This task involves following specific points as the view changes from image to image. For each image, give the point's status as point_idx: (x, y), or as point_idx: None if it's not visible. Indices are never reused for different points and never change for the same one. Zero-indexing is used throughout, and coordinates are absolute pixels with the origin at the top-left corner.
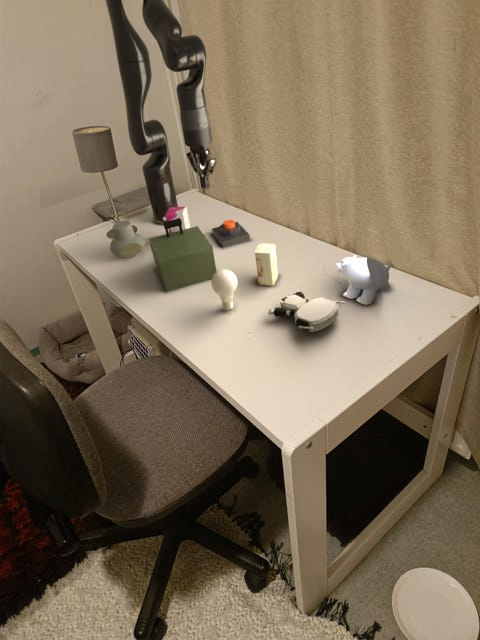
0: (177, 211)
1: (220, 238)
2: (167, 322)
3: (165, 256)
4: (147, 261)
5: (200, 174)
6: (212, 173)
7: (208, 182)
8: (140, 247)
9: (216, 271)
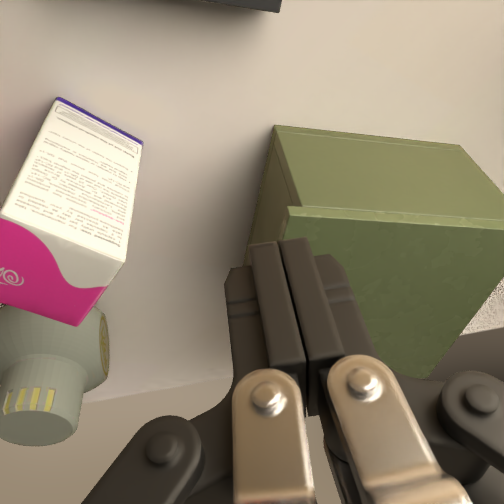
0: (75, 277)
1: (231, 1)
2: (497, 311)
3: (422, 363)
4: (162, 290)
5: (330, 452)
6: (497, 382)
7: (352, 304)
8: (101, 320)
9: (471, 158)
